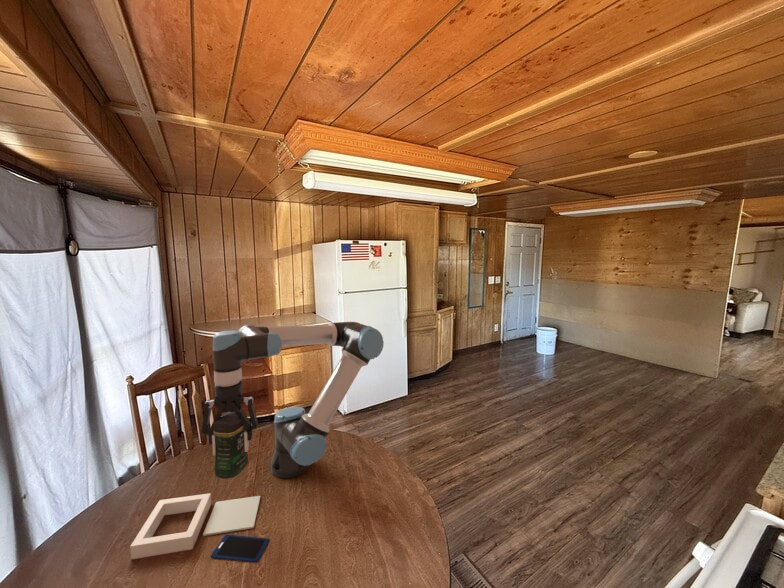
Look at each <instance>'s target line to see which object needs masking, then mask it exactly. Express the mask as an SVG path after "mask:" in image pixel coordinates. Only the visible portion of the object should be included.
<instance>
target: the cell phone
mask: <svg viewBox="0 0 784 588" xmlns="http://www.w3.org/2000/svg"><path fill="white" fill-rule="evenodd" d="M269 542H270V539H269V538H267V537H259V536H258V537H257V536H256V537H255V536H247V535H235V534H225V535H224V536H223V537H222V539H221V540H220V542H219V543H218V545H217V546H216V547H215V549H214V550H213V552H212V553H211V554H210V558H211V559H218V560H224V561H225V560H226V561H236V562H244V563H258V562H259V561H260V560H261V557H262V556H263V554H264V553H265V550H266V549H267V546H268V544H269Z"/></svg>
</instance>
